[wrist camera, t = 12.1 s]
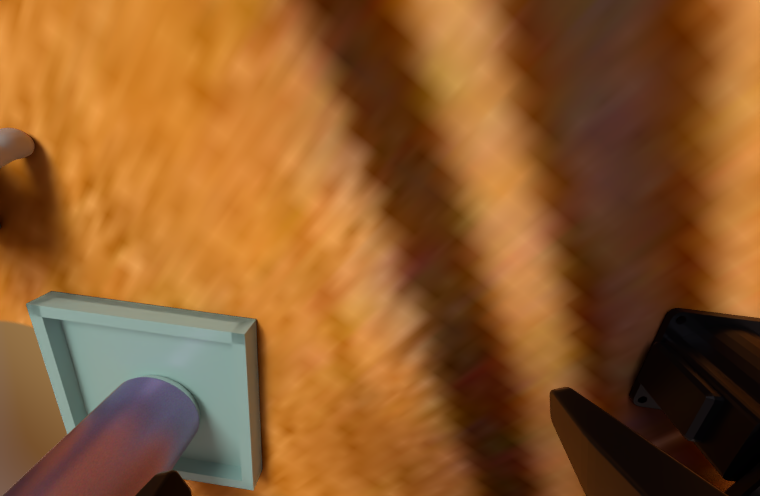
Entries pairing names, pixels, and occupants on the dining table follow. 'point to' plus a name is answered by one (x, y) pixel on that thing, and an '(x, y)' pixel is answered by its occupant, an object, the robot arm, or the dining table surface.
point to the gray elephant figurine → (14, 145)
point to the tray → (160, 372)
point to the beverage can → (118, 443)
